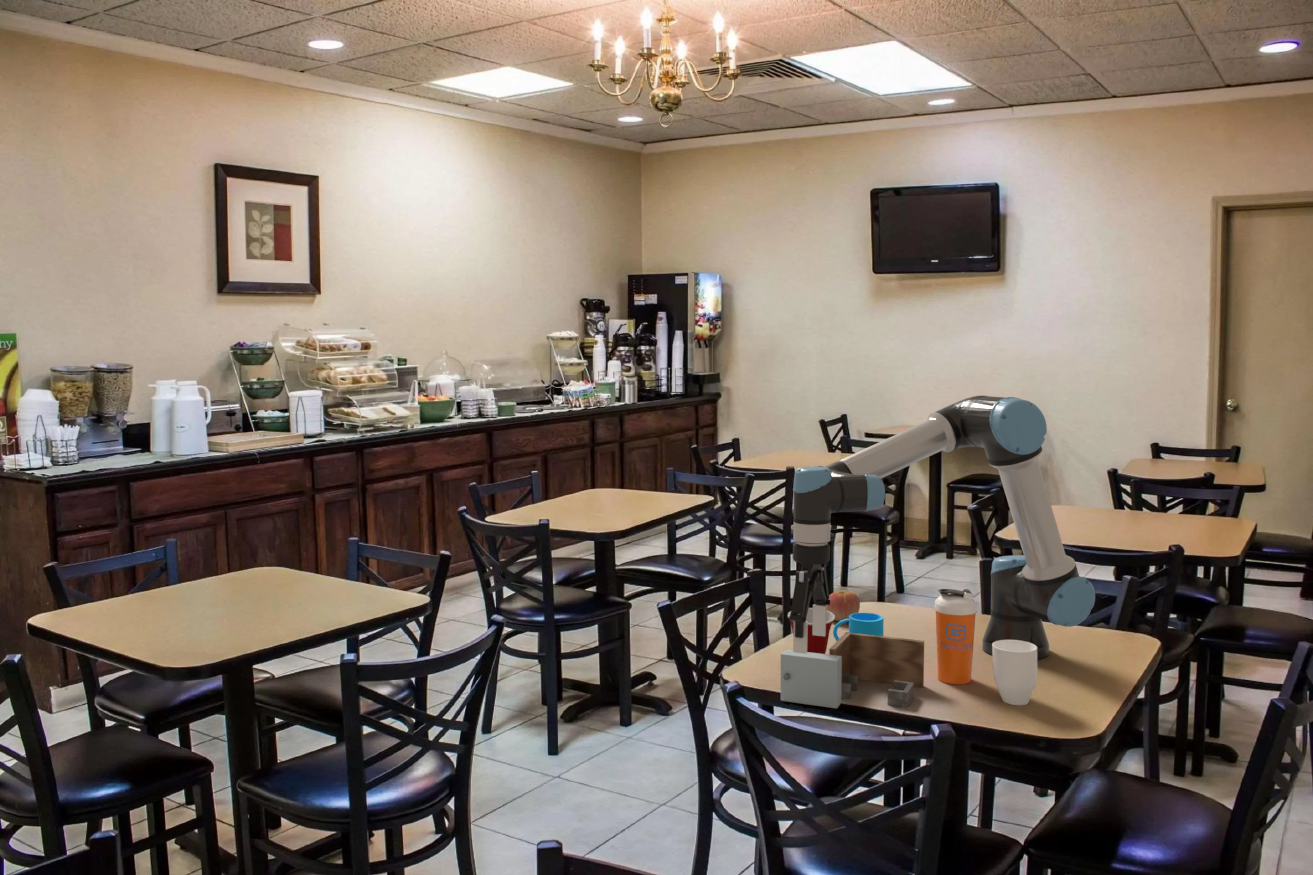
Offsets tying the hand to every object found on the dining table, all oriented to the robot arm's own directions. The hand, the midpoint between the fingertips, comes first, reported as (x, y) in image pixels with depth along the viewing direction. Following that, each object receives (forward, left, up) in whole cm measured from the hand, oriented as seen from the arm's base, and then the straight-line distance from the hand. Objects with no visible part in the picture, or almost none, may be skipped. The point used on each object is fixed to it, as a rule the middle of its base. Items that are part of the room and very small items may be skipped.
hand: (809, 643), depth 218 cm
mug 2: (-38, -18, -13) cm, 44 cm away
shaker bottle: (-25, -26, -13) cm, 38 cm away
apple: (+10, -64, -13) cm, 66 cm away
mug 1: (0, -40, -13) cm, 42 cm away
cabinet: (-11, -12, -12) cm, 20 cm away
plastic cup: (+7, -24, -13) cm, 28 cm away
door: (0, 0, -12) cm, 12 cm away
